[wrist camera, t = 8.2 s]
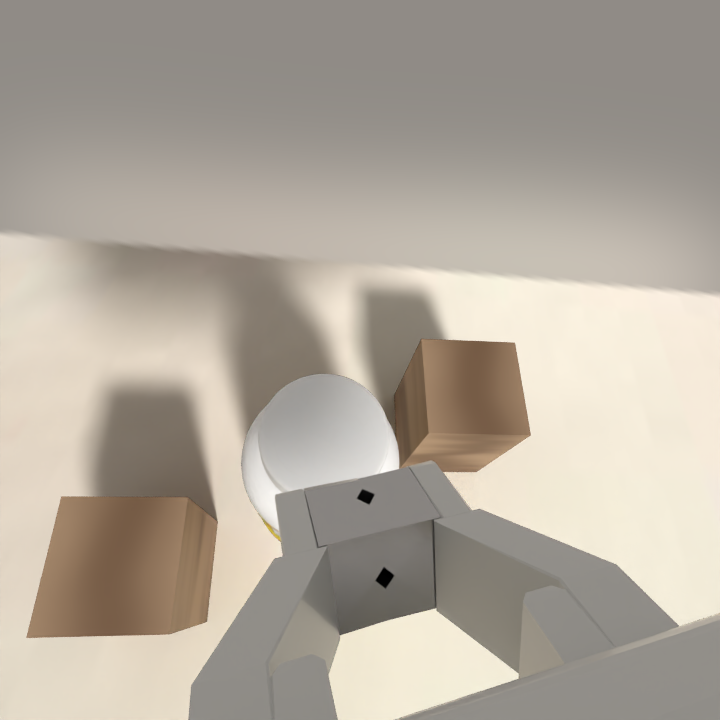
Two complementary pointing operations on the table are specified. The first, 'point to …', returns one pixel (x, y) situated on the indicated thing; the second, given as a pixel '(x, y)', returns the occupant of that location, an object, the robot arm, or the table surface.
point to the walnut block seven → (460, 404)
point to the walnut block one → (125, 568)
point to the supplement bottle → (315, 440)
